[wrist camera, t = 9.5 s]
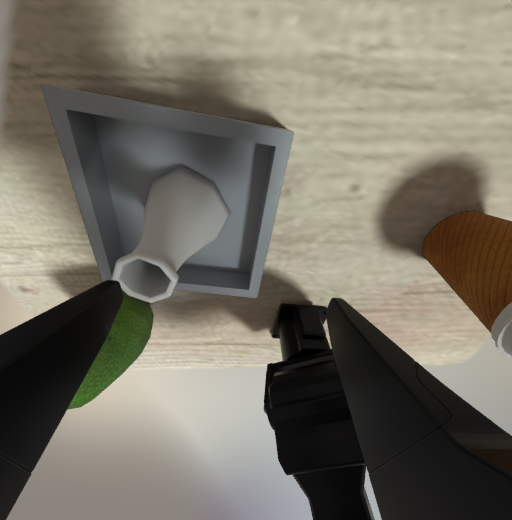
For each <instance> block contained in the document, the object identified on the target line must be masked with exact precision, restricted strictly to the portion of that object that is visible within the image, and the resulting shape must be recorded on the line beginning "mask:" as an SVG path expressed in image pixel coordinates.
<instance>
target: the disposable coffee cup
mask: <svg viewBox="0 0 512 520" xmlns="http://www.w3.org/2000/svg"><path fill="white" fill-rule="evenodd" d="M422 252H423V255H424V257H425V258H426V259H427V260H428V262H429V263H430V264H431V265H432V266H433V267H434V268H435V269H436V271H437V272H438V273H439V274H440V275H441V276H442V277H443V279H444V280H445V281H446V282H447V283H448V284H449V286H450V287H451V288H452V289H453V290H454V291H455V292H456V294H457V295H458V296H459V297H460V298H461V299H462V300H463V301H464V303H465V304H466V305H467V306H468V307H469V308H470V309H471V311H472V312H473V313H474V314H475V315H476V316H477V317H478V319H479V320H480V321H481V322H482V323H483V325H484V326H485V327H486V328H487V329H488V330H489V331H490V332H491V335H492V338H493V339H494V341H495V342H496V347H497V348H498V349H499V351H500V352H501V353H502V354H504V355H506V356H508V357H510V358H512V221H508V220H505V219H501V218H498V217H494V216H491V215H486V214H483V213H480V212H476V211H465V212H461V213H457V214H455V215H452V216H450V217H448V218H447V219H445V220H443V221H442V222H440V223H439V224H438V225H437V226H435V227H434V228H433V229H432V231H431V232H430V233H429V234H428V236H427V237H426V239H425V241H424V243H423V247H422Z"/></svg>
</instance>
